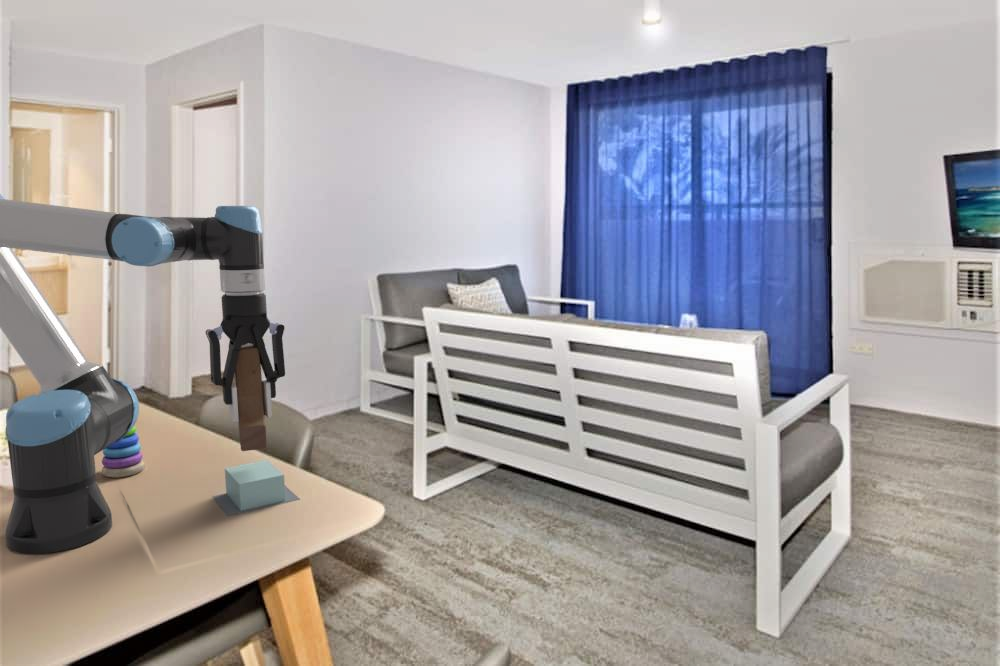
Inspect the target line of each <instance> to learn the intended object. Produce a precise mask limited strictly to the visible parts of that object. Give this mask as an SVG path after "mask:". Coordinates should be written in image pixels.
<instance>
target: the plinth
mask: <svg viewBox="0 0 1000 666" xmlns="http://www.w3.org/2000/svg"><path fill="white" fill-rule="evenodd" d="M224 477H225V479H224V480H225V492H226V494H227V495H228V496H229V497H230V498H231V499H232V501H233V502H234V503H235V504H236V505H237V506H238V508H239V509H240V510H241V511H242V510H246V509H251V508H255V507H260V506H264V505H268V504H273V503H277V502H281V501H285V486H286V485H285V474H284V473H282V472H281V471H280V470H279V469H278V468H277V467H275V465H274V464H272V463H271V462H270V461H269V460H268V459H265V460H260V461H256V462H251V463H245V464H241V465H234V466H230V467H229V466H228V467H224Z"/></svg>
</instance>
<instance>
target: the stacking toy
mask: <svg viewBox="0 0 1000 666" xmlns="http://www.w3.org/2000/svg"><path fill="white" fill-rule="evenodd" d="M136 431H137V427H136V425H134V427H133V428H132V429H131V430H130V431H129V432H128V433H127V434H126V435H125V436H124V437H123V438H122V439H121V440H119V441H117V442H116V443H114V444H112V445H110V446H108V447H107V448H105V449H104V450H102V454H103V455H104V456H103V457H102V459H101V464H102V465H103V466H102V468H101V473H102V474H103V476H105V477H107V478H124V477H129V476H134V475H136V474H139V473H141V472H142V471H143V470H144V469H145V465H146V463H145V461H144V460H143V453H142V452H141V450H142V449H141V448H142V447H141V443H139V439H140V437H139V435H138V434H137V433H136Z"/></svg>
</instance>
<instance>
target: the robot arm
mask: <svg viewBox="0 0 1000 666" xmlns="http://www.w3.org/2000/svg"><path fill="white" fill-rule="evenodd" d="M263 234H264V231H263V227H262V218H261V212H260V210H259V208H257V207H256V206H254V205H218V206H217V207H216V208H215V214H214V216H210V217H195V216H194V217H193V216H191V217H189V216H187V217H184V216H183V217H181V216H179V217H175V216H174V217H173V216H161V217H156V216H146V215H145V216H144V215H137V214H129V213H118V212H110V211H105V210H103V211H102V210H94V209H87V208H86V209H85V208H80V207H79V208H78V207H71V206H62V205H56V204H55V205H54V204H46V203H38V202H29V201H22V200H13V199H5V197H4V196H3V195H2V194H1V193H0V329H1V330H0V331H2V333H3V334H4V335H5V337H6V338H7V340H8V341H9V342H10V344H11V345H12V347H13V348H14V350H15V351H16V353H17V354H18V356H19V357H20V358H21V360H22V361H23V362H24V365H25V366H26V367H27V368H28V370H29V371H30V373H31V374H32V375H33V377H34V379H35V380H36V381H37V383H38V384H39V386H40V390H39V393H38V394H31V395H29V396H26V397H23V398H21V399H19V400H18V401H16V402H14V404H12V405H11V406H10V407H9V408H8V409H7V411H6V414H5V425H6V426H5V431H4V432H5V433H4V434H5V437H6V439H7V445H8V447H7V448H8V454H9V462H10V464H9V465H10V471H11V472H10V473H11V480H12V488H13V496H14V497H13V502H12V505H11V509H10V514H9V517H8V521H7V524H6V526H5V527H6V528H5V534H4V535H5V542H6V543H5V544H6V547H7V549H8V550H9V551H11V552H12V553H13V552H14V553H16V554H23V555H41V554H50V553H57V552H62V551H67V550H70V549H74V548H78V547H81V546H83V545H86V544H89V543H91V542H93V541H96V540H98V539H99V538H101V537H103V536H104V535H106V534H107V533H108V532H109V531H110V530H111V529H112V527H113V516H112V512H111V509H110V507H109V504H108V503H107V501H106V499H105V497H104V494H103V493H102V491H101V489H100V486H99V485H98V483H97V475H96V473H97V472H96V462H95V455H97V454H98V453H100V452H103V450H104V449H105V448H107V447H108V446H110V445H112V444H114V443H116V442H117V441H119V440H121V439H122V438H123V437H124V436H125V435H126V434H127V433H128V432H129V431H130V430H131V429H132V428H133V427H134V426H136V423H137V421H138V419H139V415H140V403H139V399H138V397H137V395H136V392H135V391H134V389H133V388H132V387H131V386H130V385H129V384H127V383H126V382H124V380H118V379H116V378H113V377H112V376H110V373H108V371H107V370H106V368H105V367H104V365H102V364H100V363H95V362H91V361H89V360H88V358H87V357H86V355H85V353H84V352H83V351H82V349H81V348H80V346H79V345H78V344H77V342H76V341H75V339H74V338H73V336H72V335H71V333H70V331H69V330H68V328H67V327H66V326H65V324H64V323H63V321H62V320H61V319H60V317H59V315H58V314H57V312H56V311H55V309H53V307H52V305H51V304H50V302H49V301H48V299H47V298H46V296H45V294H43V292H42V290H41V289H40V288H39V286H38V285H37V283H36V281H35V280H34V278H33V277H32V276H31V274H30V273H29V271H28V270H27V269H26V267H25V265H24V263H22V261H21V259H20V258H19V256H18V255H17V254H16V252H15V250H24V251H31V252H32V251H33V252H40V253H41V252H42V253H51V254H59V255H67V256H77V257H85V258H91V259H92V258H93V259H102V260H103V259H104V260H112V261H118V262H125V263H126V264H129V265H132V266H137V267H154V266H157V265H162V264H168V263H175V262H181V261H206V260H208V261H215V260H218V264H219V265H218V266H219V267H218V268H219V277H220V279H219V281H220V291H221V292H222V293H224V294H222V296H221V309H222V310H221V311H222V320H221V323H220V324H219V325H220V326H218V327H215V328H213V329H212V328H211V329H206V330H205V335H206V338H207V339H208V342H209V364H210V366H209V367H210V368H209V369H210V381H211V383H212V384H214V385H215V386H220V387H222V398H223V403H224V404H225V405H227V406H228V405H229V415H230V417H229V419H230V420H231V421H232V422H233V423H234V424H237V423H238V422H239V418H238V402H237V387H236V385H234V384H233V383H234V382H233V381H234V379H235V369H236V364H237V359H238V355H239V351H240V349H241V345H245V344H253V345H254V346H256V347H257V349H258V351H259V354H260V362H261V370H262V372H263V374H264V378H265V380H262V392H263V406H264V417H267V418H272V417H273V411H272V410H273V409H272V407H273V406H272V399H275V398H276V397H277V389H276V382H277V381H278V379H280V378H283V377H285V375H286V367H285V366H286V365H285V356H284V353H285V352H284V344H283V343H284V342H283V335H284V331H285V325H283V324H282V323H278V322H276V323H274V322H271V321H270V320H269V318H268V312H267V296H266V293H263V291H265V290H266V279H265V265H264V243H263V238H264V237H263ZM14 249H15V250H14ZM268 330H269V333H270V334H271V346H272V357H273V366H272V363H271V360H270V357H269V354H268V351H267V349H266V344H265V342H264V341H265V340H264V338H263V337H264V336H265V334H266V332H267V331H268ZM222 333H224V335H226V337H227V338H228V339H229V341H228V342H229V343H228V350H227V356H226V359H225V360H226V361H225V365H224V369H223V374H222V364H221V363H222V362H221V361H222V360H221V357H222V356H221V344H220V343H221V342H220V341H221V339H222Z"/></svg>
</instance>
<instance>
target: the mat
mask: <svg viewBox="0 0 1000 666" xmlns="http://www.w3.org/2000/svg"><path fill="white" fill-rule="evenodd" d="M212 498H213V499H214V500H215V502H216V503H217V504H218V505H219V507H220V508H221V509H222V510H223V512H224V513H225V515H227V517H231V516H234V515H235V516H236V515H239V514H243V513H247V512H251V511H252V512H253V511H256V510H260V509H261V510H262V509H265V508H269V507H274V506H280V505H283V504H287V503H291V502H297V501H301V499H300V498H299V496H297V494H295V493H294V492H293V491H292V490H291V489H290V488H289V487H288V486H286V485H285V501H281V502H277V503H273V504H268V505H264V506H260V507H255V508H251V509H246V510H242V511H241V510H240V509H239V508H238V506H237V505H236V504H235V503H234V502H233V501H232V499H231V498H230V497H229V496H228V495H227V494H226V493H221V494H218V495H217V494H216V495H212Z"/></svg>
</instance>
